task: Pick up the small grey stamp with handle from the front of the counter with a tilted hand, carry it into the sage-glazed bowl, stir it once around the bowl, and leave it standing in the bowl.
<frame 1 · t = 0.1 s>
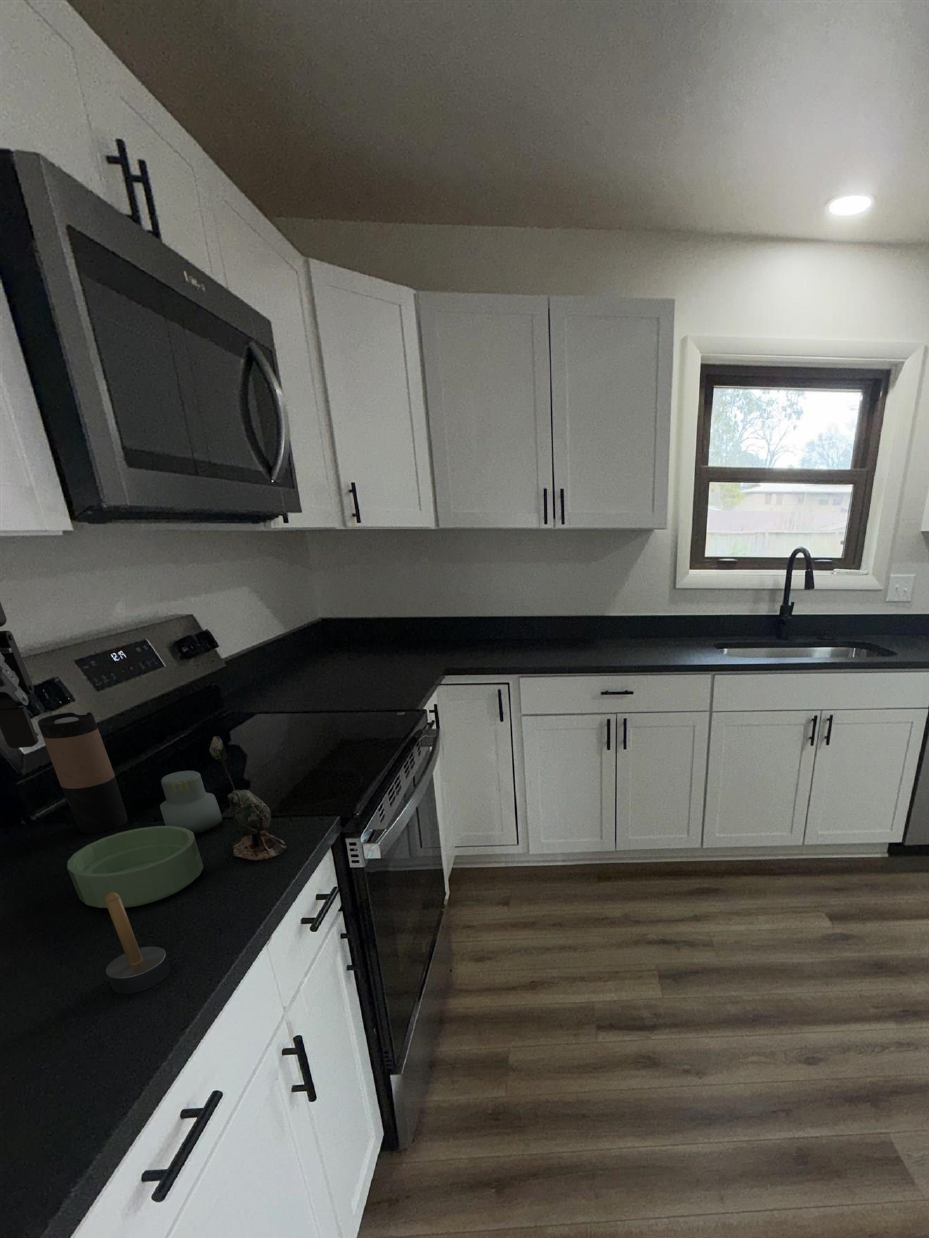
hand: (3, 761, 58), 31 cm above the counter, tool pointing down, fingers open, 8 cm apart
bowl: (145, 883, 98), on the counter
travel mug: (104, 825, 117), on the counter
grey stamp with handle: (142, 977, 79), on the counter
air freshener: (196, 829, 116), on the counter
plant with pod: (260, 853, 107), on the counter
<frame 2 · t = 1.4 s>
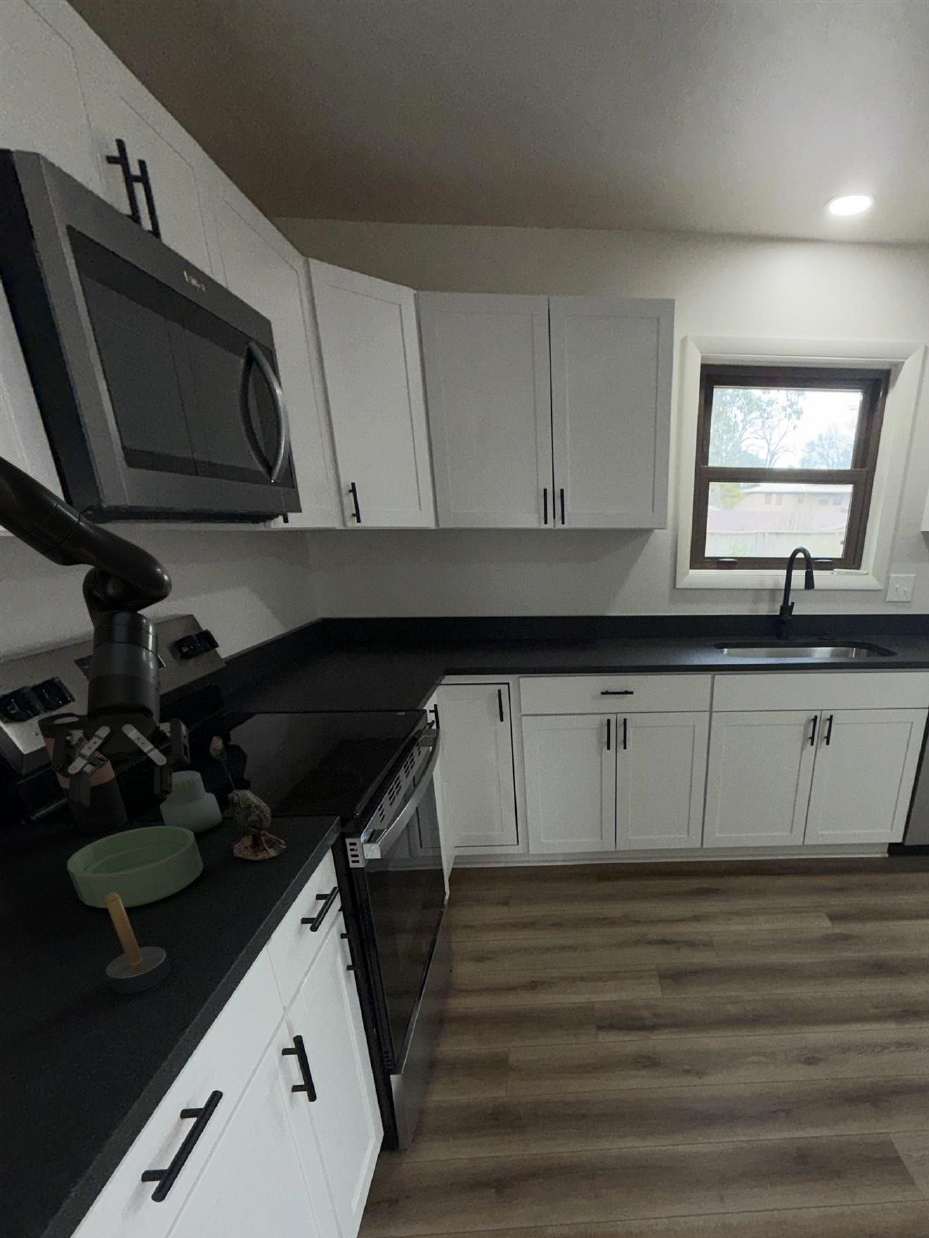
hand: (121, 801, 80), 19 cm above the counter, tool tilted 45°, fingers open, 8 cm apart
nothing on the counter moved.
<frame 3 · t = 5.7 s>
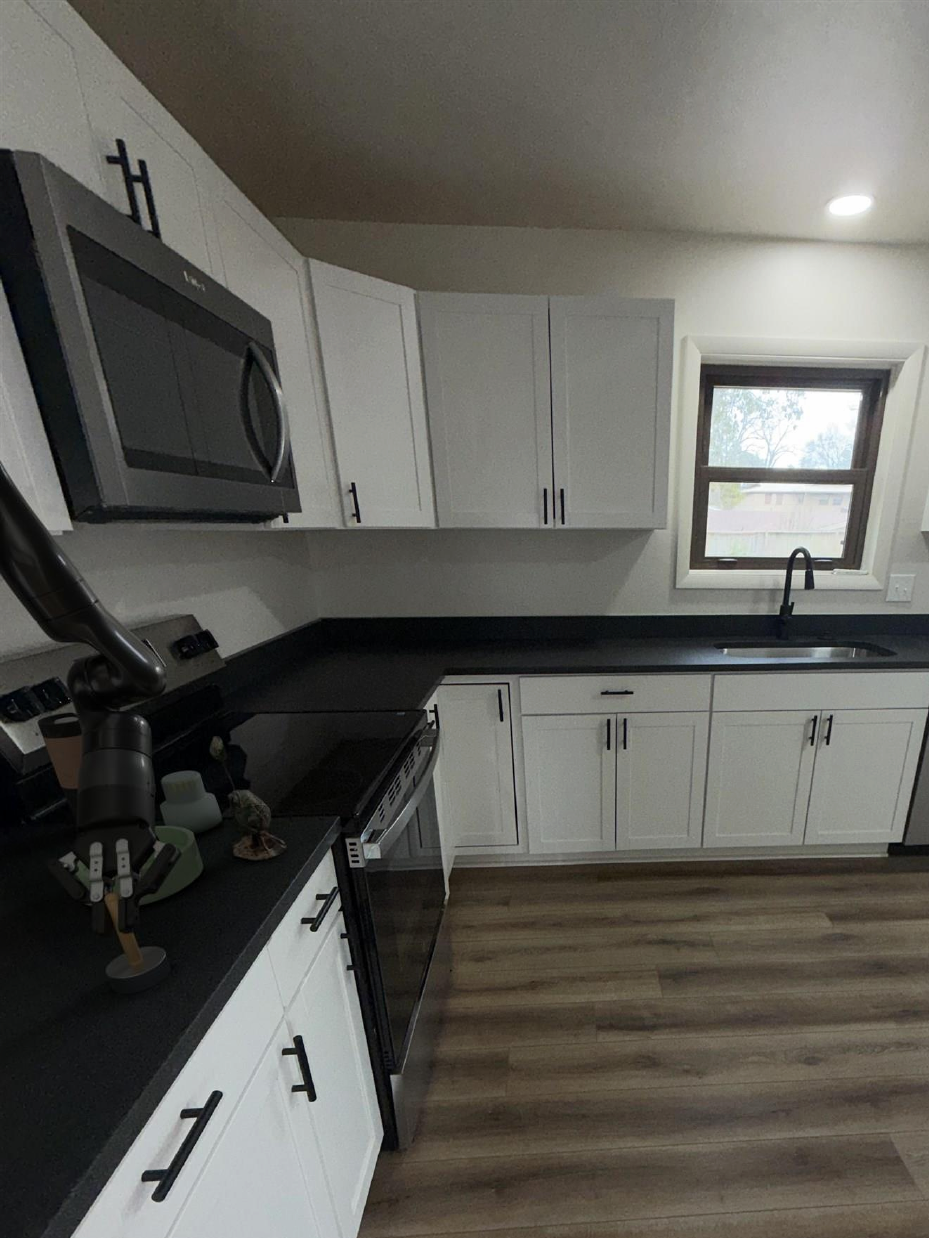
hand: (116, 933, 73), 8 cm above the counter, tool tilted 45°, fingers closed on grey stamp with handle
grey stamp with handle: (142, 977, 79), on the counter, touching gripper
everything else where it was.
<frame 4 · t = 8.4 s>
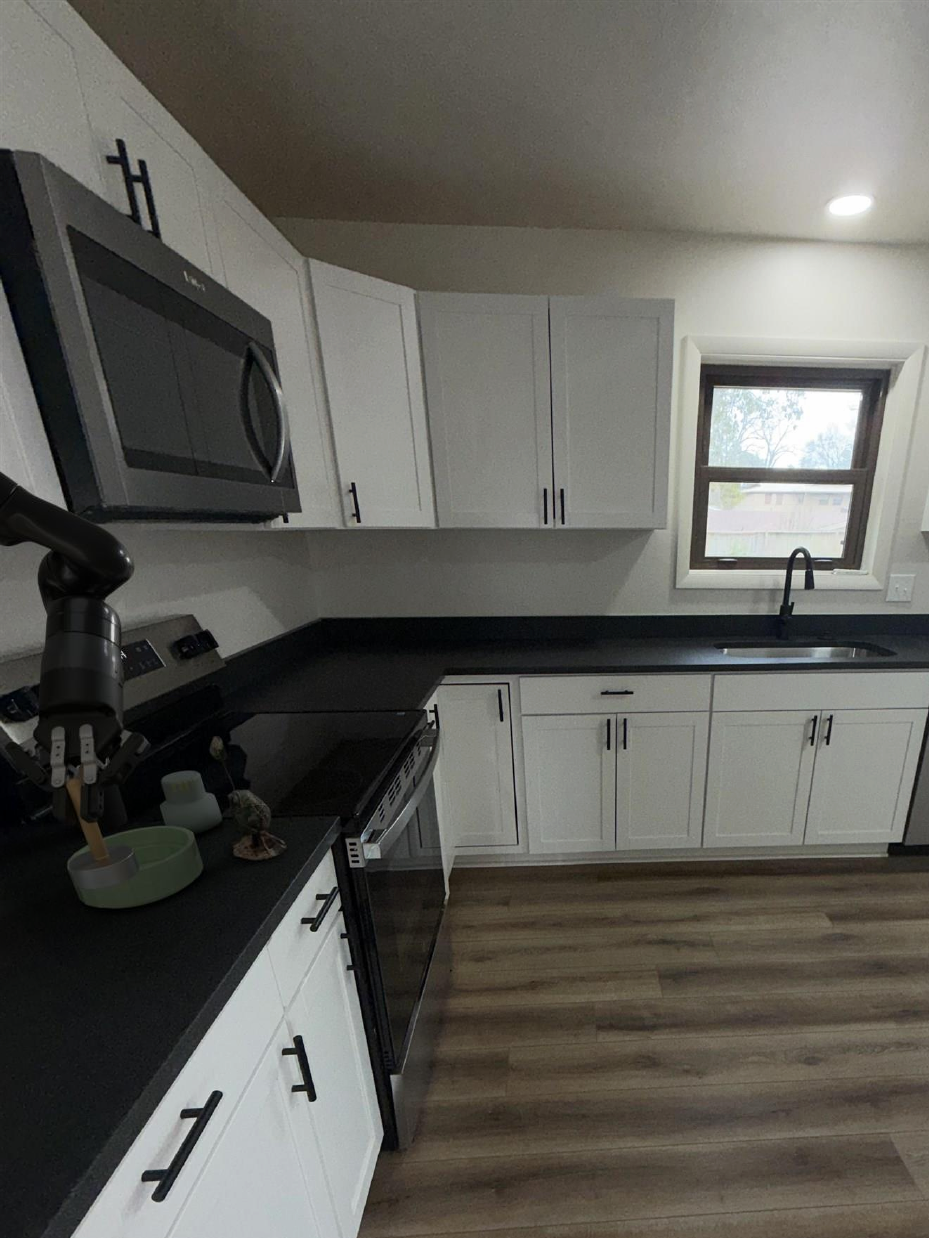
hand: (78, 821, 69), 21 cm above the counter, tool tilted 45°, fingers closed on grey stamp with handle
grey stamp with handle: (108, 875, 75), point 13 cm above the counter, touching gripper
everything else where it was.
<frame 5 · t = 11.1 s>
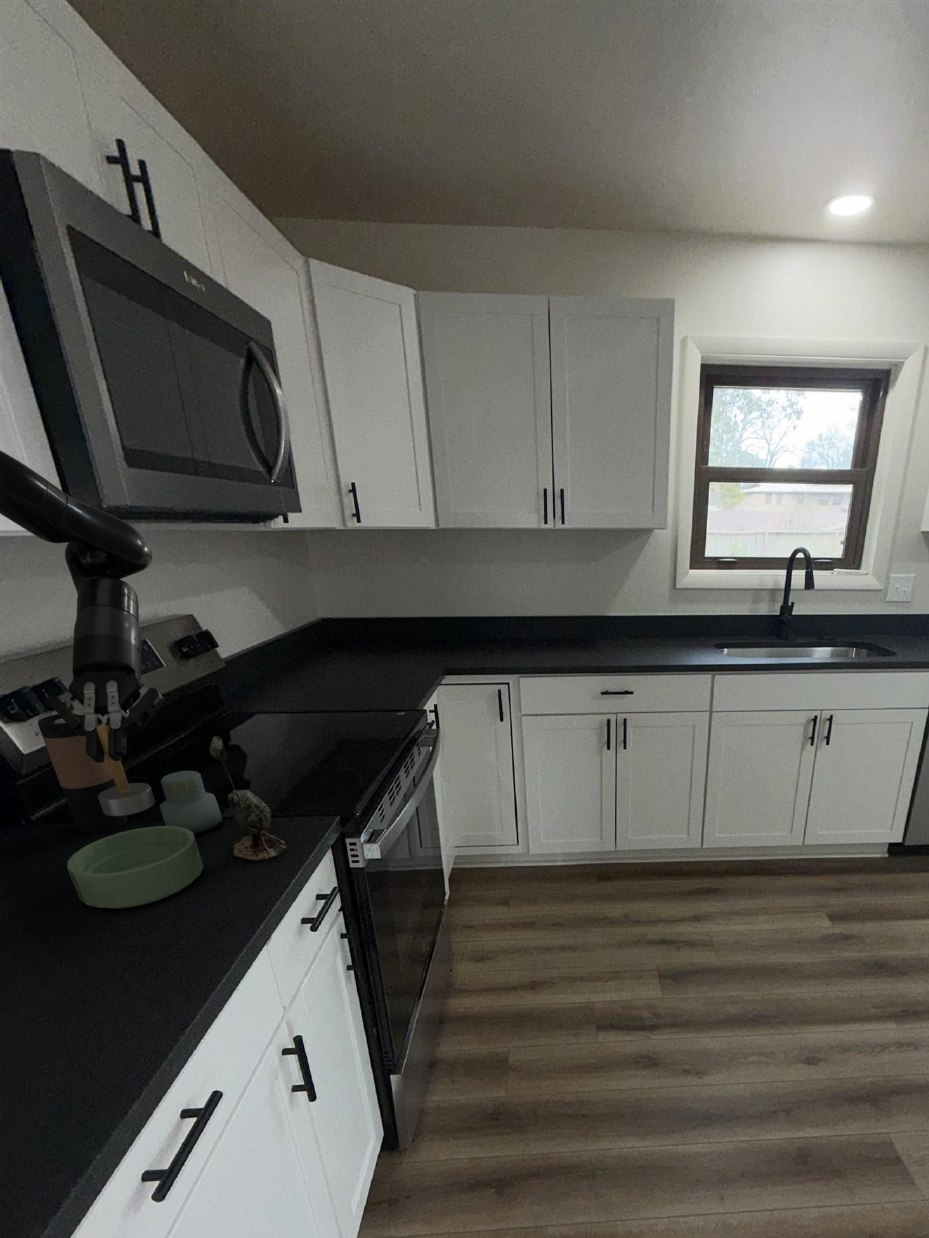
hand: (106, 758, 85), 22 cm above the counter, tool tilted 45°, fingers closed on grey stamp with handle
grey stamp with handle: (130, 806, 90), point 14 cm above the counter, touching gripper
everything else where it was.
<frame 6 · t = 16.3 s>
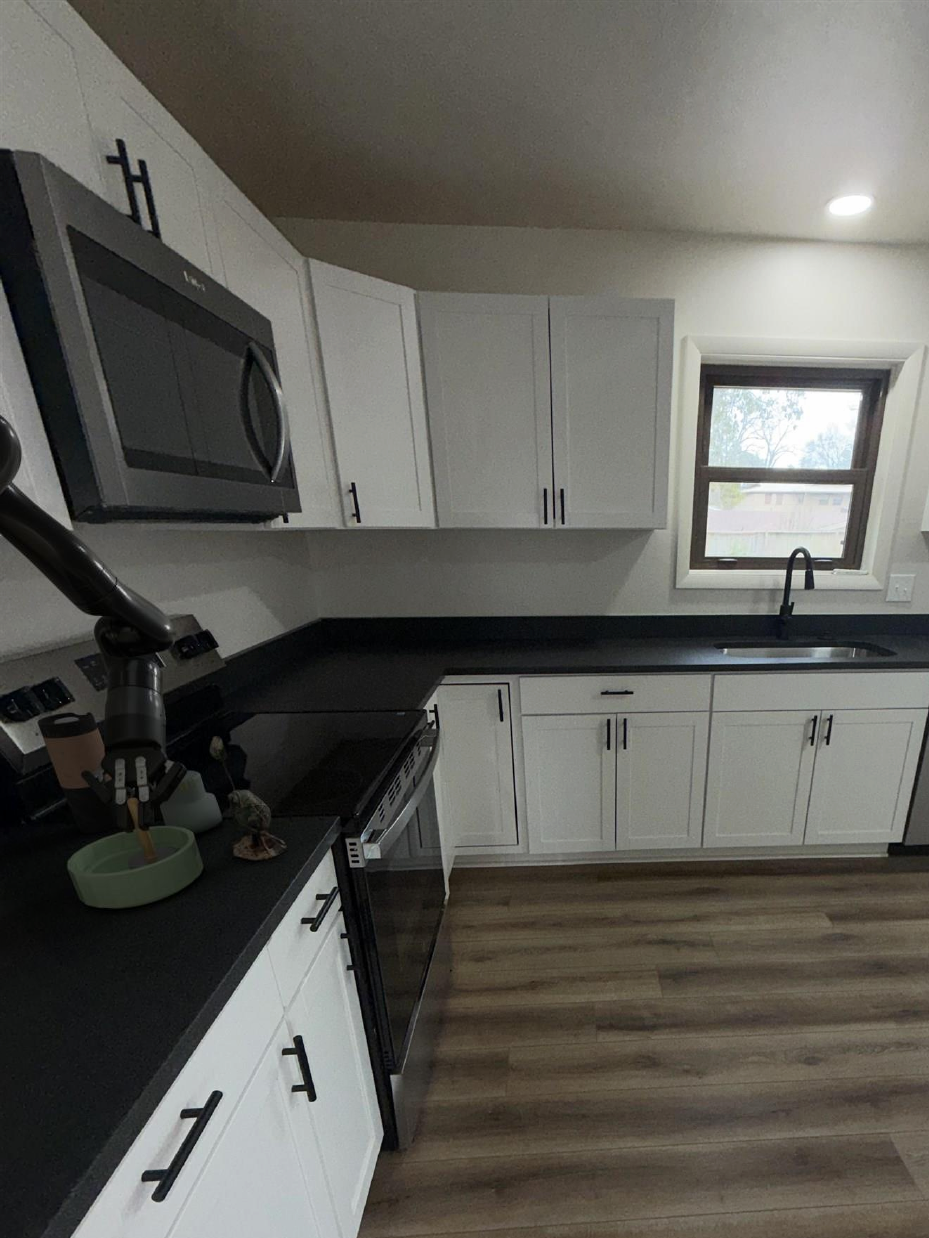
hand: (135, 829, 93), 10 cm above the counter, tool tilted 45°, fingers closed on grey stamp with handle
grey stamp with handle: (155, 870, 98), point 2 cm above the counter, touching gripper
everything else where it was.
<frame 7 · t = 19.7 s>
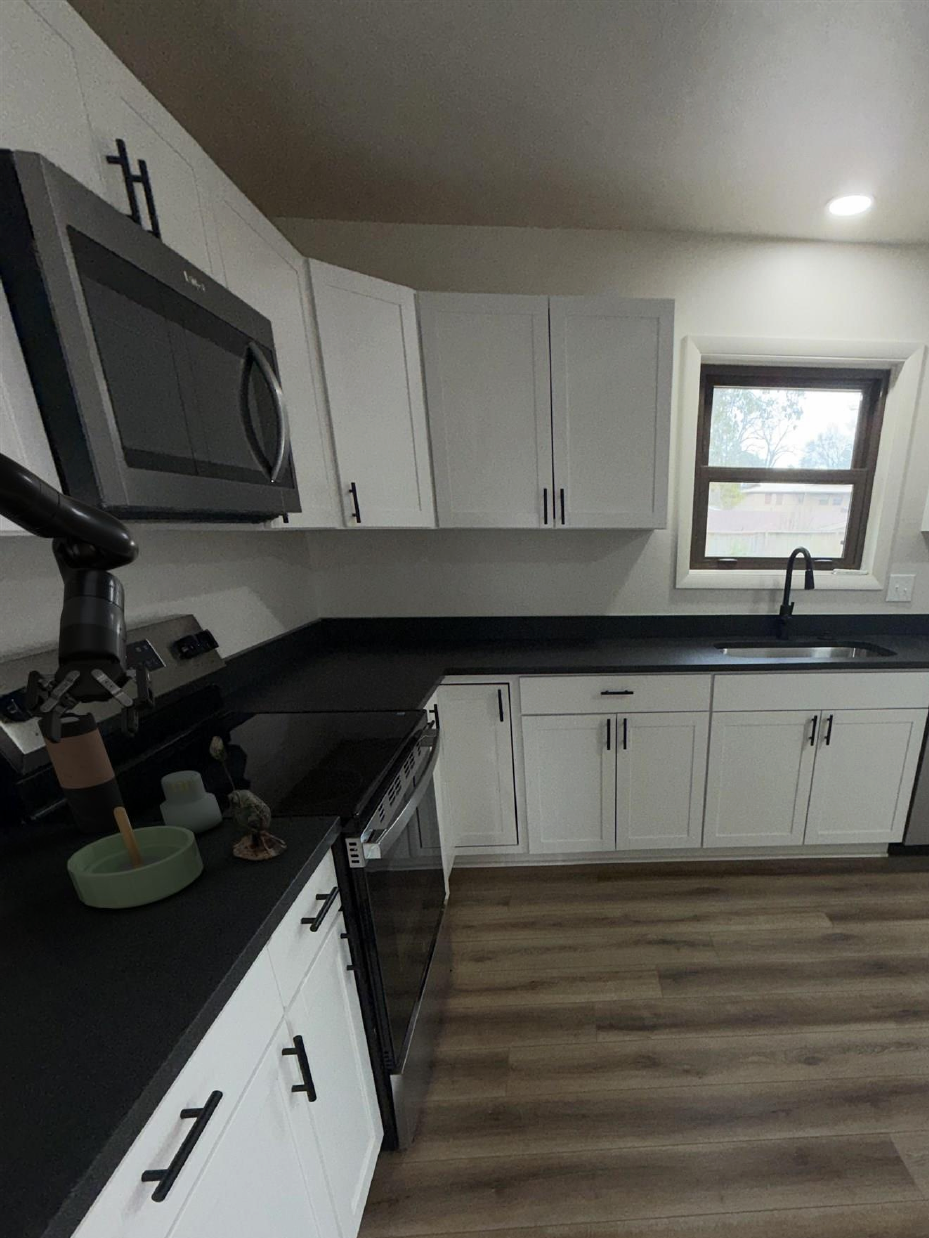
hand: (90, 737, 87), 24 cm above the counter, tool tilted 45°, fingers open, 8 cm apart
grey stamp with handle: (143, 879, 98), point 1 cm above the counter, touching bowl
everything else where it was.
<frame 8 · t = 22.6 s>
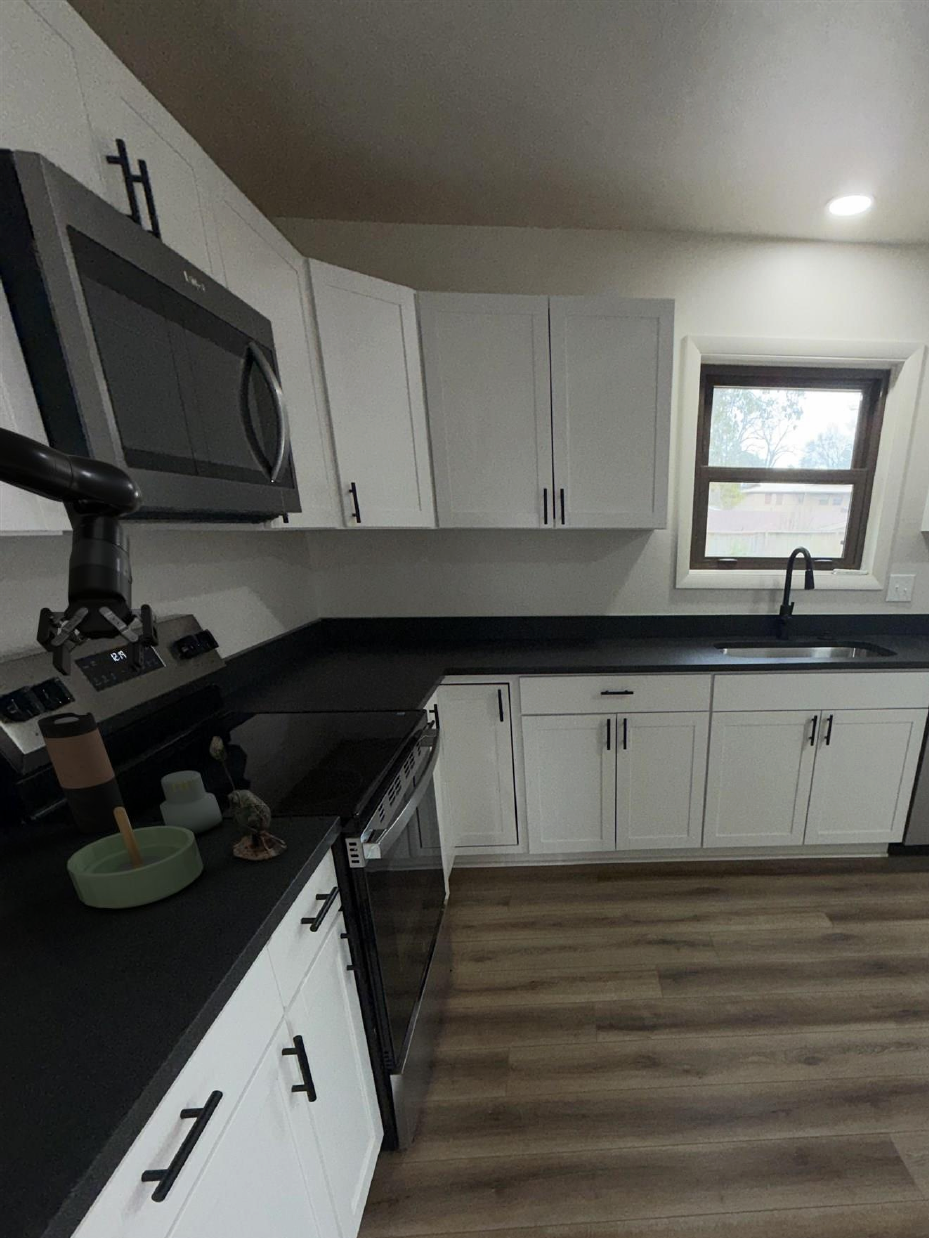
hand: (99, 670, 93), 31 cm above the counter, tool tilted 45°, fingers open, 8 cm apart
nothing on the counter moved.
at the end: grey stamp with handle inside the target area in the bowl (0.1 cm from its centre), point 0.8 cm above the bowl's base; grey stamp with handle tilted 0°; the gripper is holding nothing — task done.
